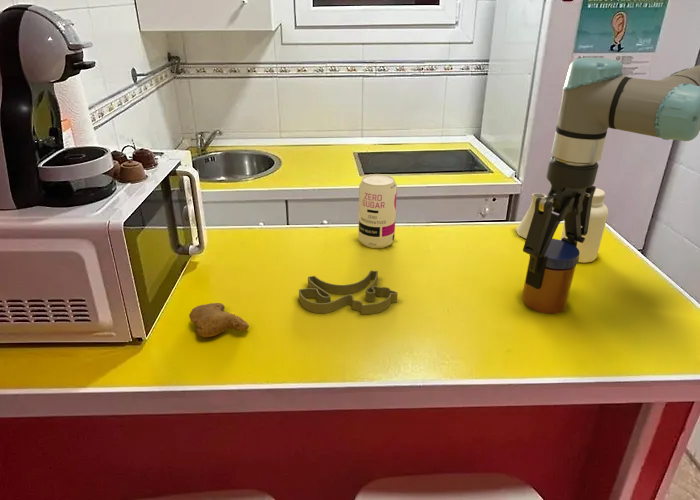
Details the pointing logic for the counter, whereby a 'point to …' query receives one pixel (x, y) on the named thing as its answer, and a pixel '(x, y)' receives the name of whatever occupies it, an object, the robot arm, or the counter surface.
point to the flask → (528, 216)
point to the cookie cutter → (325, 305)
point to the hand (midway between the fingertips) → (547, 278)
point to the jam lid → (561, 255)
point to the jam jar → (549, 291)
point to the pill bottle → (592, 228)
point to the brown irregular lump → (215, 320)
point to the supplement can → (377, 210)
